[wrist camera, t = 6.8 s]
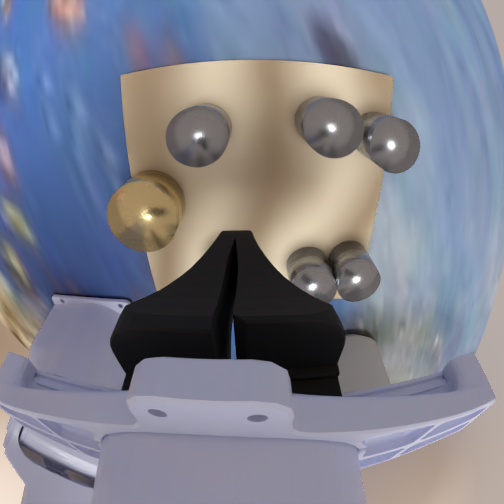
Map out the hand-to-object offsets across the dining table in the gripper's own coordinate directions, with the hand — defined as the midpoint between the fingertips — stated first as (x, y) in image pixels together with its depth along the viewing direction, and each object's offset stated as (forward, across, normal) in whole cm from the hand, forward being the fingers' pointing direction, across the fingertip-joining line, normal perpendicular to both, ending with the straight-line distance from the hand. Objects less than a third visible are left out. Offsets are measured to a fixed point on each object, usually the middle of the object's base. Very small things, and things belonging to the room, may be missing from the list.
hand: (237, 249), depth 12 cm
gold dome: (+6, +6, 0) cm, 8 cm away
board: (+6, -1, 0) cm, 6 cm away
